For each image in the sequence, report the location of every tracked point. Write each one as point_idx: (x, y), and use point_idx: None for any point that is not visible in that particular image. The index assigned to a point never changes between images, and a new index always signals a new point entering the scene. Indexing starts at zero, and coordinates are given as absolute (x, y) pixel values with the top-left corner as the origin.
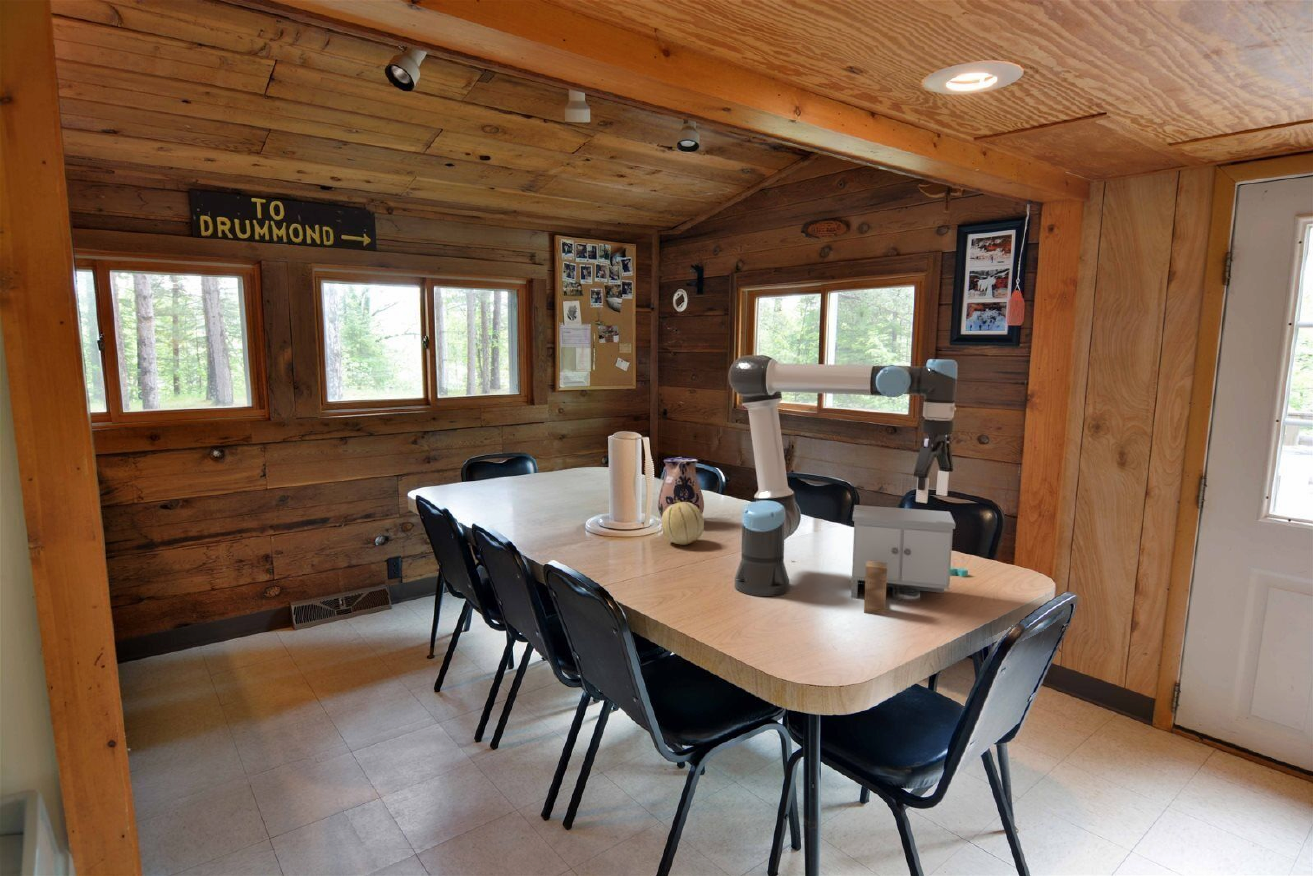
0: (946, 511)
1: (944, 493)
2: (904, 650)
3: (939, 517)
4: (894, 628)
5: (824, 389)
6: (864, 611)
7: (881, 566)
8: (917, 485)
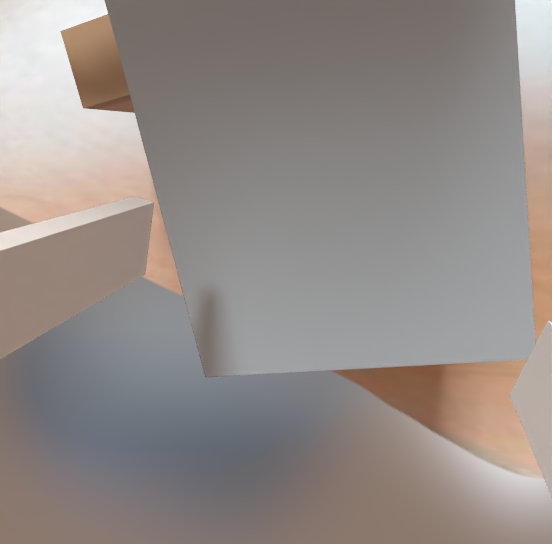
0: (534, 341)
1: (520, 393)
2: (16, 193)
3: (319, 305)
4: (103, 154)
5: None
6: None
7: (91, 83)
8: (42, 227)
